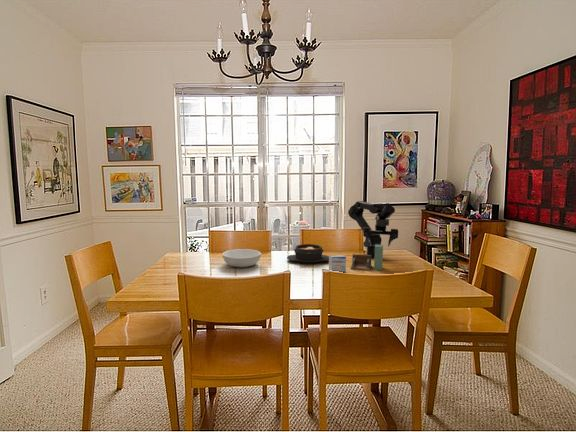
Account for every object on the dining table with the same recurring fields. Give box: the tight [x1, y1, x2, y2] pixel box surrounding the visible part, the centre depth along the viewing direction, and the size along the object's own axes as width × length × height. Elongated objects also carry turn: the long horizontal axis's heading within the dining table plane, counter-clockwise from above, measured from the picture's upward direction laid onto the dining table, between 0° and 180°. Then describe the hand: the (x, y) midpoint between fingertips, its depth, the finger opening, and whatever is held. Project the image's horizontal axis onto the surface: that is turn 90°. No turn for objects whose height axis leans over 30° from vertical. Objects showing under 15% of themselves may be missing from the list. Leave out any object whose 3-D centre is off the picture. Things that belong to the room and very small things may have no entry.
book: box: [373, 244, 384, 271], centre depth 189 cm, size 5×4×12 cm
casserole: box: [286, 243, 330, 264], centre depth 205 cm, size 25×19×8 cm
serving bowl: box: [222, 248, 262, 268], centre depth 195 cm, size 21×21×7 cm
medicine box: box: [328, 254, 347, 272], centre depth 182 cm, size 8×4×9 cm, turn 101°
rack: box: [350, 253, 372, 271], centre depth 192 cm, size 10×10×6 cm
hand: (379, 245), depth 193 cm, fingers open, 9 cm apart
